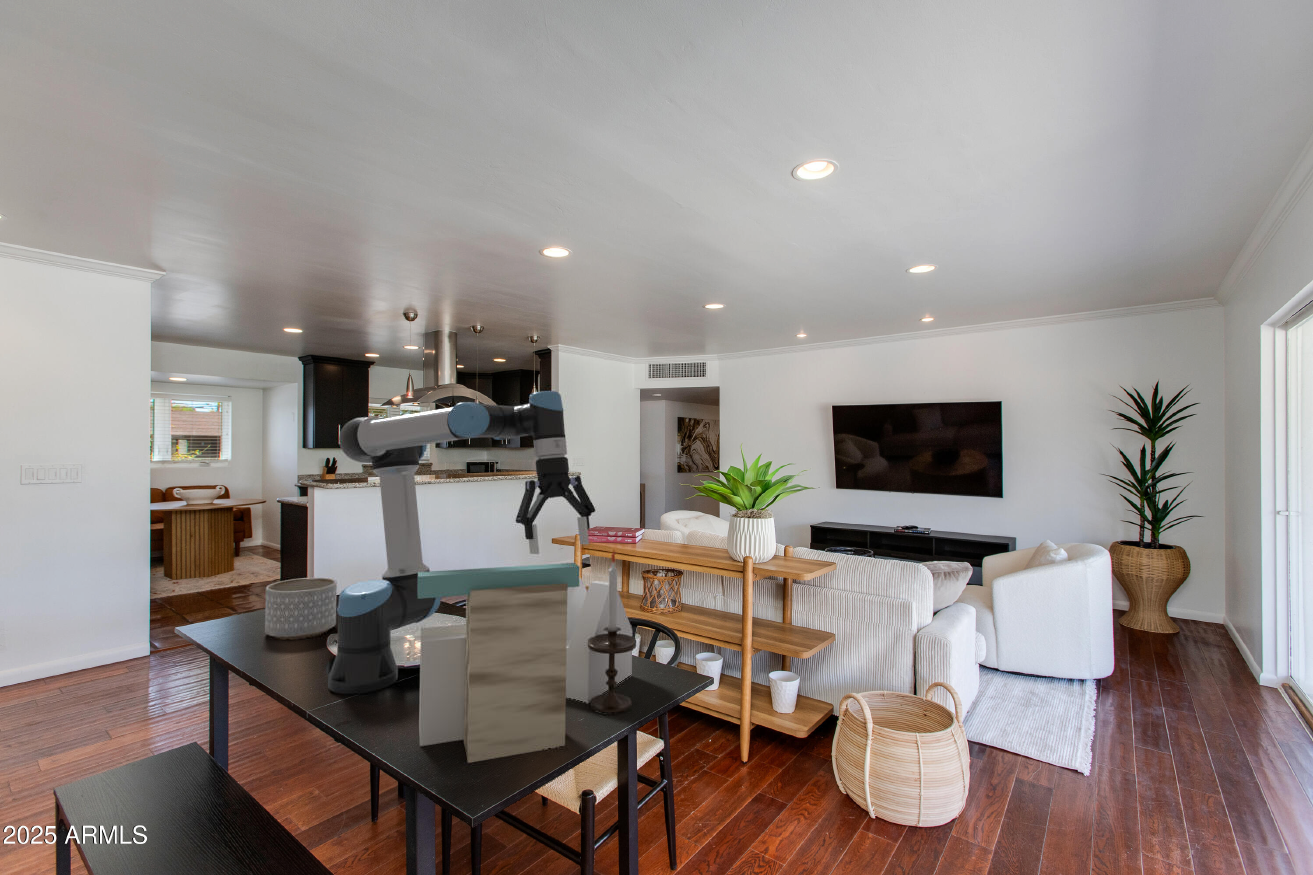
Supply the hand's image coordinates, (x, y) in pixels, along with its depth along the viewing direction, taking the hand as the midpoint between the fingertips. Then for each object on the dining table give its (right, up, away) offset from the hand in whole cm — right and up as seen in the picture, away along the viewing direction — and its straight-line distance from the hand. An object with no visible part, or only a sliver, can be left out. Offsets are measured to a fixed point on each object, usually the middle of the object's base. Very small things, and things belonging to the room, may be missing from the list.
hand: (560, 548), depth 143 cm
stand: (-5, -34, -23) cm, 41 cm away
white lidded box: (-16, -34, -17) cm, 41 cm away
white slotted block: (+5, -34, +8) cm, 36 cm away
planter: (-85, -33, +44) cm, 102 cm away
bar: (-8, -4, -24) cm, 25 cm away
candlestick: (+12, -34, -5) cm, 37 cm away
